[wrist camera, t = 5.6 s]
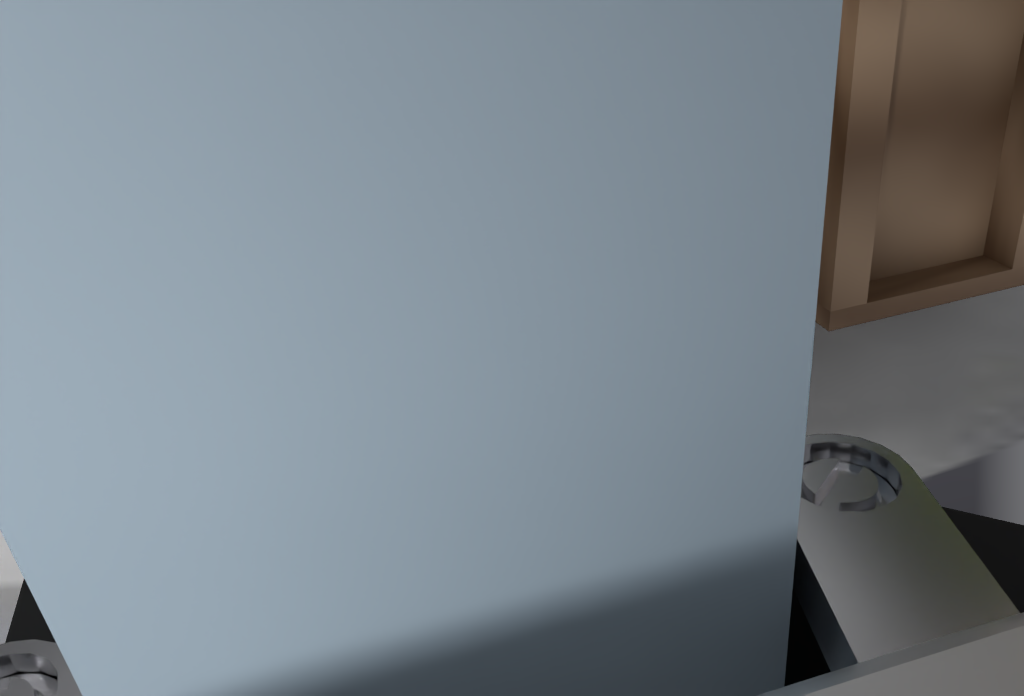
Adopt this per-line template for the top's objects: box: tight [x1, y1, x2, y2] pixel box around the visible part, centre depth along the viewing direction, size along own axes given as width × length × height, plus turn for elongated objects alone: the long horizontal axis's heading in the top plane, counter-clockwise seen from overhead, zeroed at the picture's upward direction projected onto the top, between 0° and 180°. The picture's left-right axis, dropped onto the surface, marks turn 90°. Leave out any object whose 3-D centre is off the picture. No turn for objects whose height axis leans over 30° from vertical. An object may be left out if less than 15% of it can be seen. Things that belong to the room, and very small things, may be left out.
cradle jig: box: [815, 0, 1024, 331], centre depth 30 cm, size 15×16×2 cm
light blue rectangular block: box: [0, 0, 843, 696], centre depth 9 cm, size 12×4×6 cm, turn 5°
